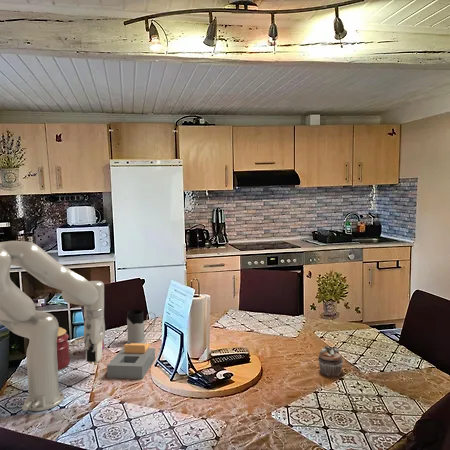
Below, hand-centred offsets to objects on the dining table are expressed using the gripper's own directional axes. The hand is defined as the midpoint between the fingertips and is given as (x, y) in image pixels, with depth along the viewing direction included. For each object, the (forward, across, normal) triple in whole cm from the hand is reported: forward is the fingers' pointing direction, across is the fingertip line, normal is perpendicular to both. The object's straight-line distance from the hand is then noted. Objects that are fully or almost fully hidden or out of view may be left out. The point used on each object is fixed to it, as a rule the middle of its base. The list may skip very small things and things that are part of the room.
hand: (94, 358), depth 157 cm
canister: (+7, +8, +21) cm, 24 cm away
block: (+2, 0, 0) cm, 2 cm away
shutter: (+1, +16, -13) cm, 20 cm away
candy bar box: (+7, +22, +9) cm, 25 cm away
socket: (+7, +8, -13) cm, 17 cm away
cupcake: (+5, +10, -93) cm, 93 cm away
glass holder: (+6, +37, -8) cm, 39 cm away
